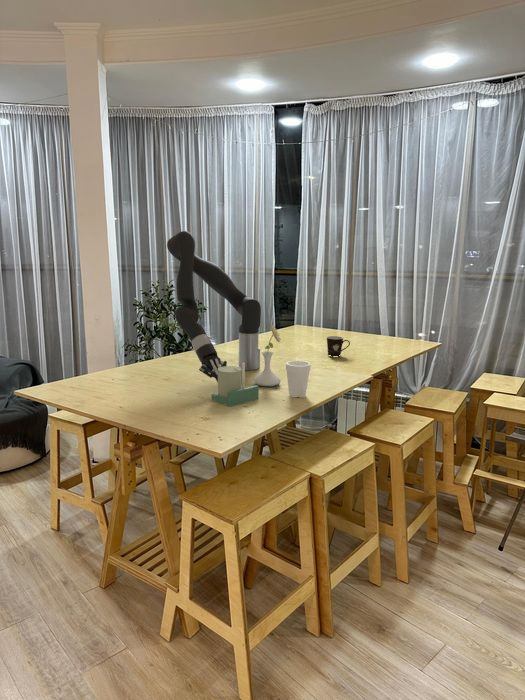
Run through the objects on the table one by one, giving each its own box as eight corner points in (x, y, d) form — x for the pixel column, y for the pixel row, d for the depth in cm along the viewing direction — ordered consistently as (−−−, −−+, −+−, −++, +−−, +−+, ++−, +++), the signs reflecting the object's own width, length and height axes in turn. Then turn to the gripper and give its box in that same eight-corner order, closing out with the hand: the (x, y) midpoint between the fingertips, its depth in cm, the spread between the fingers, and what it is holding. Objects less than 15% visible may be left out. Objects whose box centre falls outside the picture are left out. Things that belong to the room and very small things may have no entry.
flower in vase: (271, 390, 201) (272, 329, 196) (248, 385, 207) (248, 326, 202) (287, 382, 212) (288, 324, 207) (264, 378, 218) (265, 322, 213)
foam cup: (293, 400, 189) (293, 367, 186) (280, 393, 197) (281, 362, 194) (314, 397, 193) (315, 364, 190) (301, 390, 201) (302, 359, 198)
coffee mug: (324, 357, 260) (324, 338, 258) (328, 353, 268) (329, 335, 266) (346, 359, 256) (347, 340, 254) (349, 355, 264) (350, 337, 261)
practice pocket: (211, 399, 188) (211, 361, 185) (240, 392, 198) (240, 355, 195) (229, 406, 181) (229, 366, 178) (258, 398, 191) (258, 360, 187)
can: (235, 403, 185) (235, 372, 182) (213, 399, 188) (213, 369, 185) (245, 396, 193) (245, 366, 190) (224, 393, 196) (224, 363, 194)
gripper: (194, 345, 192) (213, 382, 186) (221, 340, 201) (240, 376, 195) (186, 355, 197) (205, 392, 191) (213, 351, 206) (231, 386, 200)
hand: (223, 384), depth 193 cm, fingers closed
